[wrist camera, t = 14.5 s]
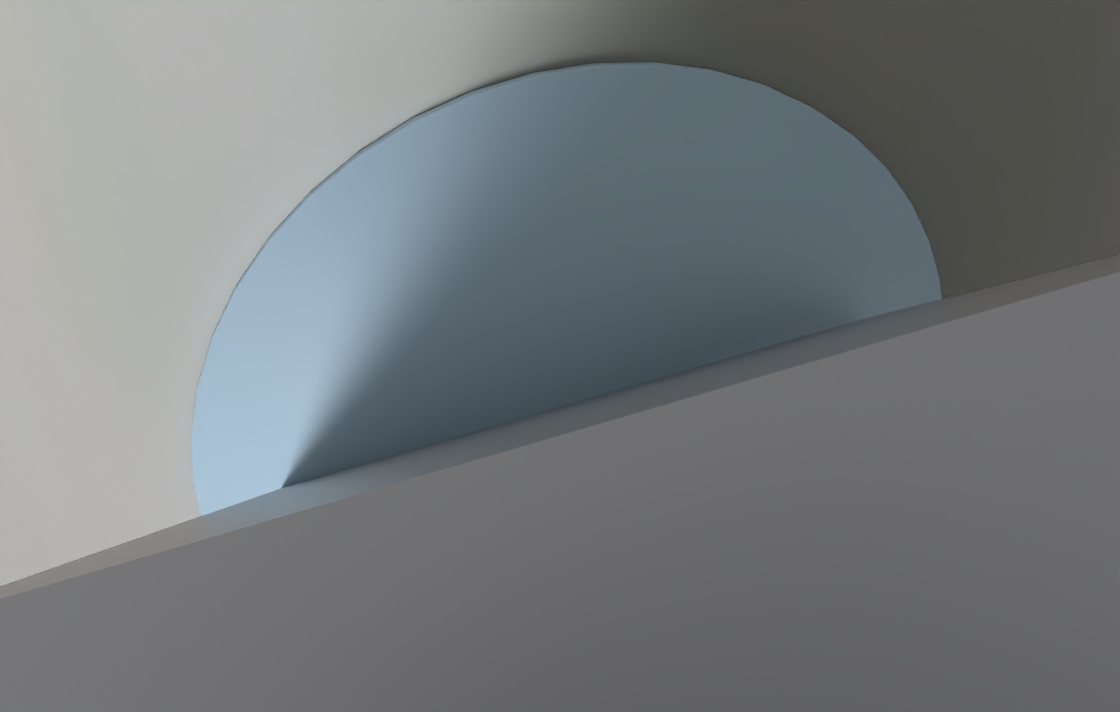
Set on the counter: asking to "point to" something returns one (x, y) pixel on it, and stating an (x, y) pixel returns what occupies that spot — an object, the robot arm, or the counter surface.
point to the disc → (543, 266)
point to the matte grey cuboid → (662, 546)
